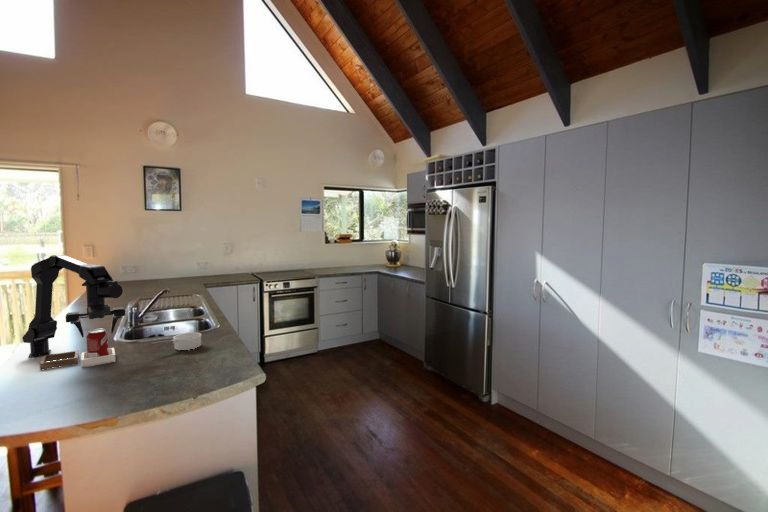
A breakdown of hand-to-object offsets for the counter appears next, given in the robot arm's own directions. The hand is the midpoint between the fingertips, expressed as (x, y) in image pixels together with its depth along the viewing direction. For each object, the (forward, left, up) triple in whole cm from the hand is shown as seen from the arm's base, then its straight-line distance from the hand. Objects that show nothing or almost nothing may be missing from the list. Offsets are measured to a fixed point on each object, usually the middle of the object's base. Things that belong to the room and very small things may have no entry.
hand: (97, 335), depth 148 cm
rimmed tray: (0, 0, -11) cm, 11 cm away
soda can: (0, 0, -10) cm, 10 cm away
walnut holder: (-6, -12, -11) cm, 17 cm away
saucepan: (+4, +28, -11) cm, 30 cm away
